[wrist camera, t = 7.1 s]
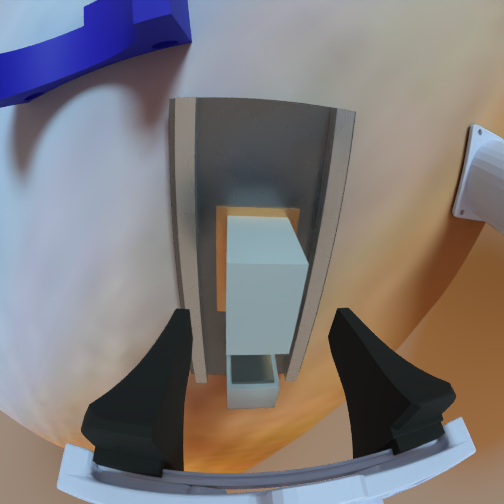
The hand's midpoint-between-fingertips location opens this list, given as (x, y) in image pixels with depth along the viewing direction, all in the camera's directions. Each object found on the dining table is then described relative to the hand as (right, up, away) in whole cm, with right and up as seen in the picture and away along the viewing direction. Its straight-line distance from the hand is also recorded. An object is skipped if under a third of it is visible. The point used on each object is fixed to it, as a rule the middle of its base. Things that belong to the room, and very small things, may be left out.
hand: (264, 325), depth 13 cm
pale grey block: (0, +3, +4) cm, 5 cm away
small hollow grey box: (-1, -4, +9) cm, 10 cm away
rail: (-1, +3, +6) cm, 7 cm away
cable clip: (-10, +17, -2) cm, 20 cm away
